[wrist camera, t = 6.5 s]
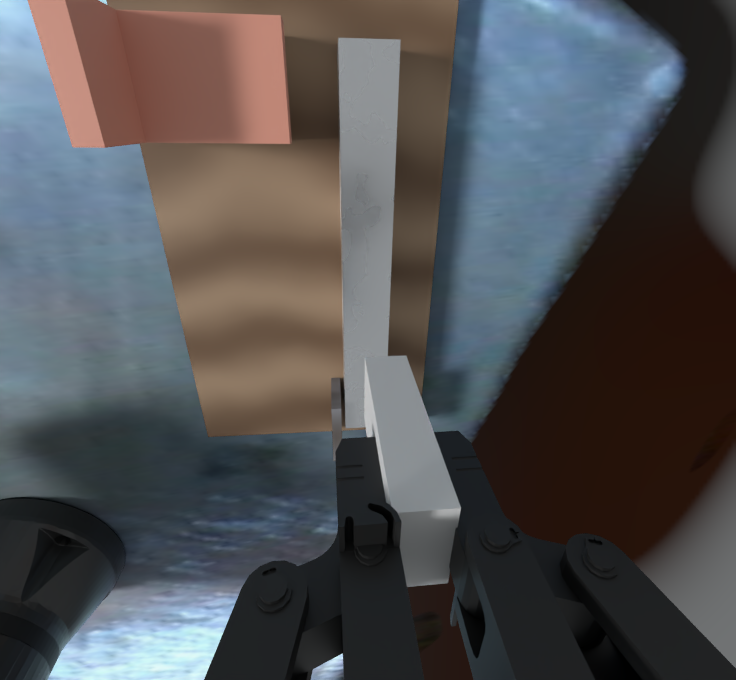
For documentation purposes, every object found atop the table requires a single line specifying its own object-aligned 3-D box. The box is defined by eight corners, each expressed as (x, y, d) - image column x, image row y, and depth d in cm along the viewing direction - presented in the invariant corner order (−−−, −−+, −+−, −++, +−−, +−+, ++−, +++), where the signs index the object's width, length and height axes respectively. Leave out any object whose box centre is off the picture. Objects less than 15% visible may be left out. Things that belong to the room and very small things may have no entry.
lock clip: (291, 142, 21) (281, 148, 16) (130, 141, 20) (72, 147, 16) (283, 21, 18) (268, -12, 14) (99, 15, 18) (21, -21, 13)
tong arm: (382, 413, 32) (384, 426, 31) (344, 415, 32) (345, 428, 31) (395, 44, 21) (400, 39, 19) (337, 42, 20) (338, 37, 19)
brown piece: (415, 415, 37) (428, 460, 32) (212, 425, 35) (194, 473, 30) (452, -11, 22) (486, -47, 18) (112, -25, 21) (48, -68, 16)
